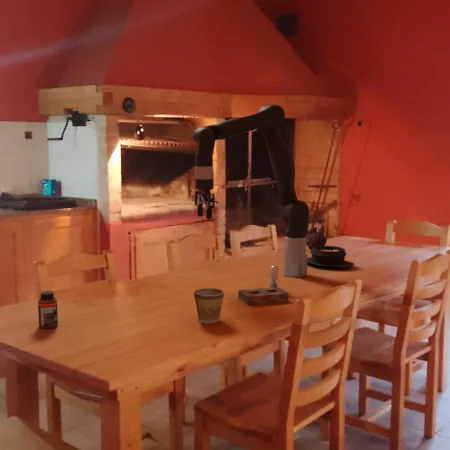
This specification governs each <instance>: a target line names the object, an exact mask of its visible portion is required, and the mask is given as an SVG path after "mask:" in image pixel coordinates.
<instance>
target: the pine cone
mask: <svg viewBox="0 0 450 450" xmlns="http://www.w3.org/2000/svg"><path fill="white" fill-rule="evenodd" d="M327 241H328V239H327V237H326V236H325V235H324V233H322V232H319V231H318V232H313V233H311V234H310V235H309V236H308V237H306V246H307V247H308V250H309V251H312V248H313V247H317V246H326V244H327Z"/></svg>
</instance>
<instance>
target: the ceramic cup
mask: <svg viewBox="0 0 450 450" xmlns="http://www.w3.org/2000/svg"><path fill="white" fill-rule="evenodd" d="M224 294H225V291H224V290H222V289H221V288H215V287H204V288H203V287H202V288H198V289H195V290H194V291H193V297H194V301H195V305H196V311H197V317H198V320H199V322H200V323H201V324H202V323H203V324H205V325H206V324H209V325H210V324H216V323H218V322H219V321H220V316H221V311H222V306H223V301H224Z"/></svg>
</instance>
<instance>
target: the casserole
mask: <svg viewBox="0 0 450 450" xmlns="http://www.w3.org/2000/svg"><path fill="white" fill-rule="evenodd" d="M347 254H348V253H347V252H346V249H345V248H343V247H339V246H335V245H325V246H317V247H313V248H312V250H310V255H311V257H308V256H307V264H311V265H314V266H315V267H318V268H323V269H337V268H348V267H349V268H350V267H353V266H354V265H355V263H354V262H352V261H348V260H345V257H346V255H347Z"/></svg>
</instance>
